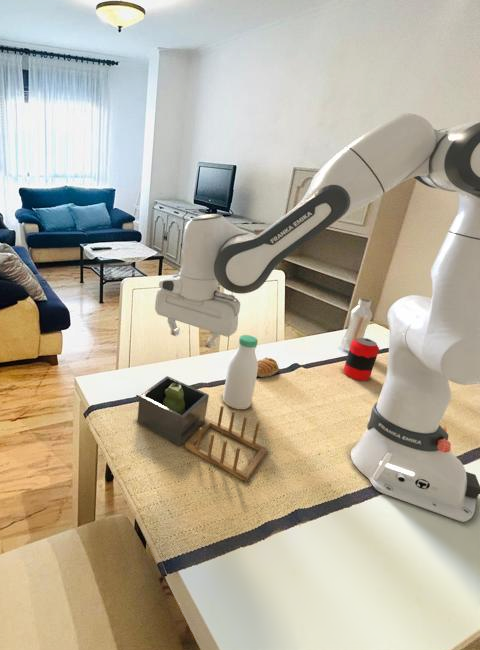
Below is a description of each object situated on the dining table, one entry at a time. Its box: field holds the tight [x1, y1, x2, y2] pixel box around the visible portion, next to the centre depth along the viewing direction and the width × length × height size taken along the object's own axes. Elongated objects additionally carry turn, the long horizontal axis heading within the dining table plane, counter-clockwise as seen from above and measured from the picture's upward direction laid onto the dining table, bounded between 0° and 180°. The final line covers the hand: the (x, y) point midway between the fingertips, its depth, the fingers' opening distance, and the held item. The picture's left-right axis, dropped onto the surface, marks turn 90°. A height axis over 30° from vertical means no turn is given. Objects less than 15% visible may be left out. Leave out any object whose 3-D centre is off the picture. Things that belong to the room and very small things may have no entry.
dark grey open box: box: [136, 375, 210, 447], centre depth 97 cm, size 13×13×8 cm
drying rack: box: [184, 405, 268, 482], centre depth 89 cm, size 15×12×7 cm
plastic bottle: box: [340, 297, 373, 352], centre depth 138 cm, size 6×7×20 cm
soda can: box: [342, 337, 380, 381], centre depth 123 cm, size 8×8×12 cm
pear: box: [163, 383, 185, 415], centre depth 97 cm, size 6×5×10 cm
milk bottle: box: [222, 334, 258, 410], centre depth 105 cm, size 8×8×20 cm
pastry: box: [257, 357, 280, 378], centre depth 123 cm, size 9×7×4 cm
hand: (191, 340), depth 92 cm, fingers open, 8 cm apart
